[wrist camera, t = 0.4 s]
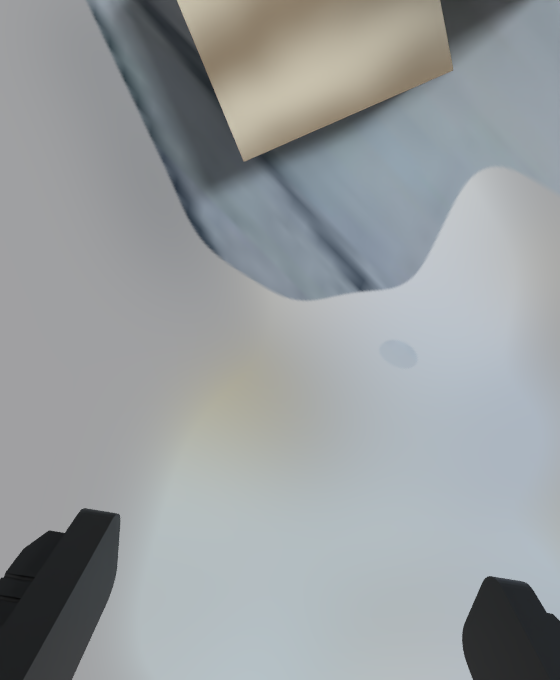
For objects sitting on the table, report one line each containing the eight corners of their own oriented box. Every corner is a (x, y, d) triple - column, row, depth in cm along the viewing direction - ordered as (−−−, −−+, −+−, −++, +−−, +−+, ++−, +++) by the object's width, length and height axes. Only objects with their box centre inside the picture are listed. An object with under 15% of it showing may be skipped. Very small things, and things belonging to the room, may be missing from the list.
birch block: (180, -56, 26) (139, -91, 20) (379, -182, 22) (390, -263, 17) (260, 149, 31) (243, 161, 26) (432, 73, 27) (453, 70, 22)
